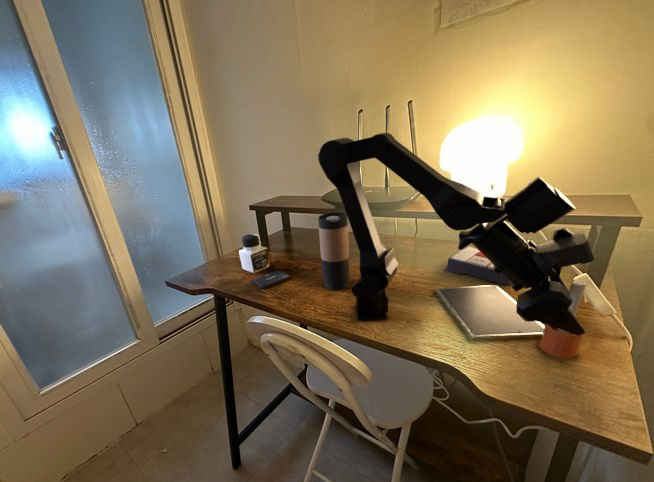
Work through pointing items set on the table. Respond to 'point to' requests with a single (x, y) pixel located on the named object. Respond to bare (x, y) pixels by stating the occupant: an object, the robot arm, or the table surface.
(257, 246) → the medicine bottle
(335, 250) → the travel mug
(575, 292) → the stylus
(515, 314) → the tablet
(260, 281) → the solid state drive
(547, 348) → the pen pot
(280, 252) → the table surface
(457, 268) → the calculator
